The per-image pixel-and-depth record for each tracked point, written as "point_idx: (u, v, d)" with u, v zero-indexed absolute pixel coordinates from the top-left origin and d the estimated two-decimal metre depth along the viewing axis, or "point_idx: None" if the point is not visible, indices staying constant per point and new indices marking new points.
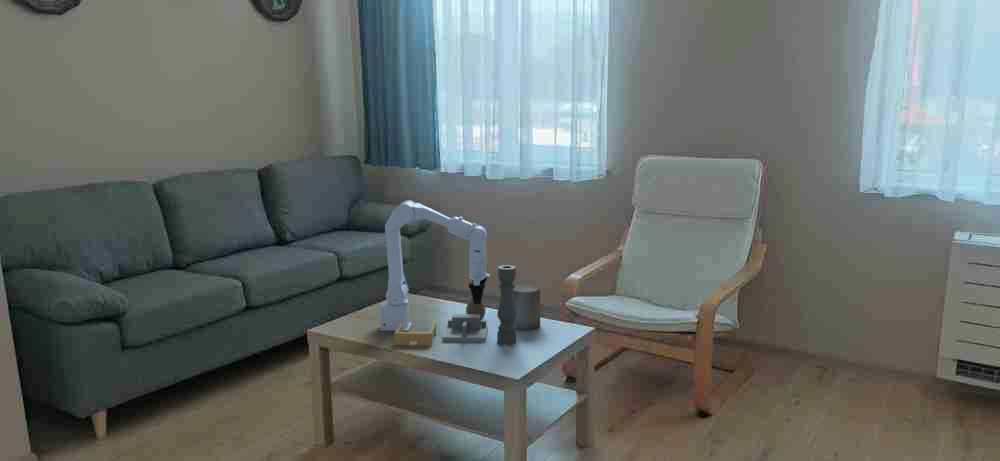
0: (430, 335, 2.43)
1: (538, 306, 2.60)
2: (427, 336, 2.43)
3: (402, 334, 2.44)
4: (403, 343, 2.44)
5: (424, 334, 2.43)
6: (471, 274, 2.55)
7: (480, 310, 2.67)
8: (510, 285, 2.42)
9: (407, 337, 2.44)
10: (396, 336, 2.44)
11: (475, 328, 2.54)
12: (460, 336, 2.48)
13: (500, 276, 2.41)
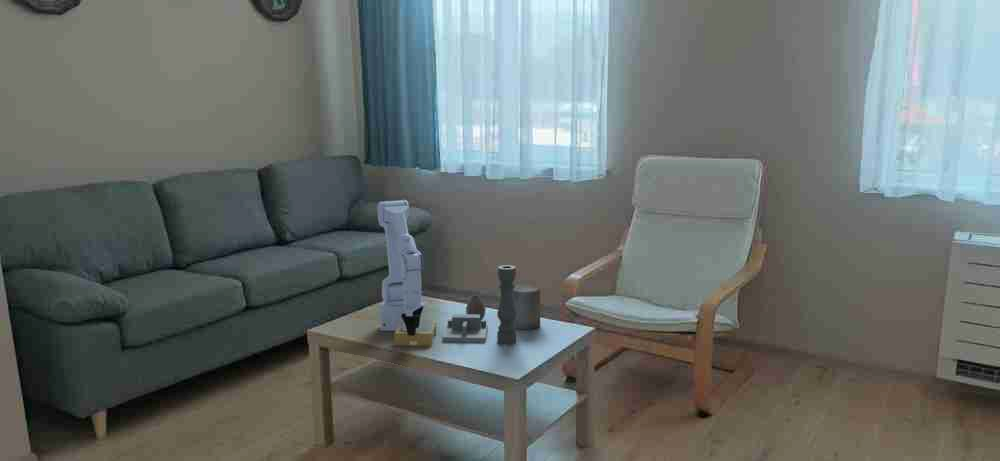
0: (430, 335, 2.43)
1: (538, 306, 2.60)
2: (427, 336, 2.43)
3: (402, 334, 2.44)
4: (403, 343, 2.44)
5: (424, 334, 2.43)
6: (405, 304, 2.40)
7: (480, 310, 2.67)
8: (510, 285, 2.42)
9: (407, 337, 2.44)
10: (396, 336, 2.44)
11: (475, 328, 2.54)
12: (460, 336, 2.48)
13: (500, 276, 2.41)
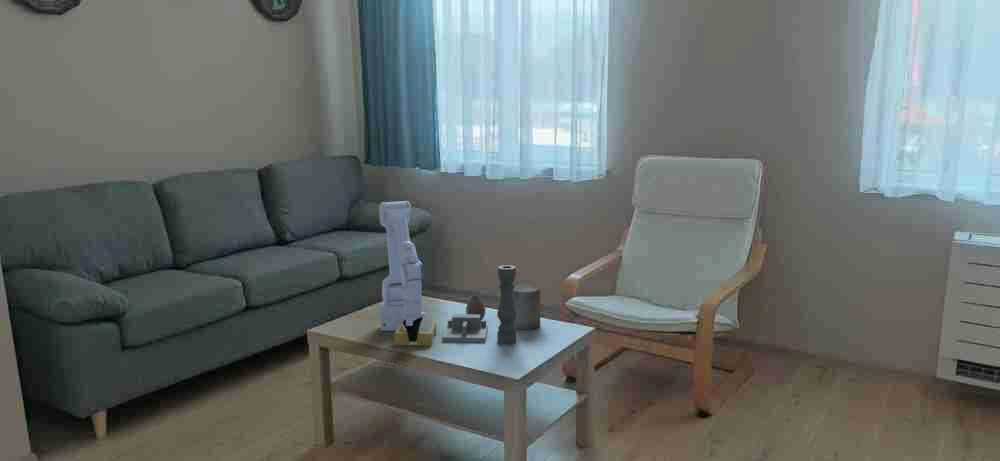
0: (430, 335, 2.43)
1: (538, 306, 2.60)
2: (427, 336, 2.43)
3: (402, 334, 2.44)
4: (403, 343, 2.44)
5: (424, 334, 2.43)
6: (405, 313, 2.41)
7: (480, 310, 2.67)
8: (510, 285, 2.42)
9: (407, 337, 2.44)
10: (396, 336, 2.44)
11: (475, 328, 2.54)
12: (460, 336, 2.48)
13: (500, 276, 2.41)
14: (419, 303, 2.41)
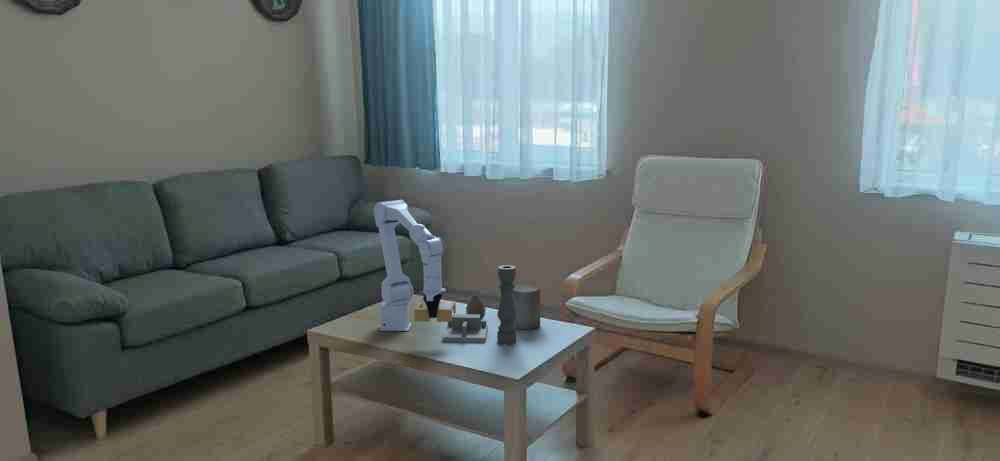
0: (450, 311, 2.43)
1: (538, 306, 2.60)
2: (447, 312, 2.43)
3: (422, 310, 2.44)
4: (423, 319, 2.44)
5: (444, 310, 2.43)
6: (425, 289, 2.41)
7: (480, 310, 2.67)
8: (510, 285, 2.42)
9: (427, 313, 2.44)
10: (416, 312, 2.44)
11: (475, 328, 2.54)
12: (460, 336, 2.48)
13: (500, 276, 2.41)
14: (439, 279, 2.41)
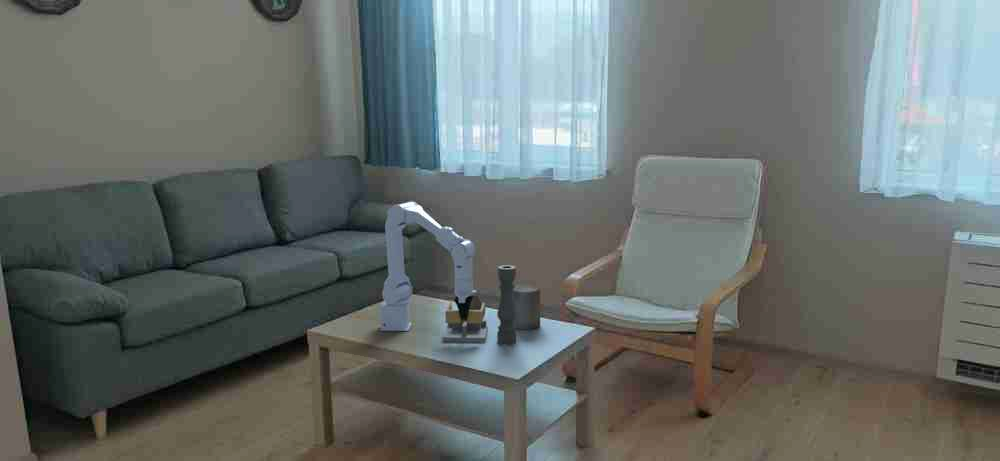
0: (481, 313, 2.46)
1: (538, 306, 2.60)
2: (478, 314, 2.46)
3: (453, 312, 2.47)
4: (454, 321, 2.47)
5: (475, 312, 2.46)
6: (456, 291, 2.44)
7: None
8: (510, 285, 2.42)
9: (458, 314, 2.47)
10: (447, 314, 2.47)
11: (475, 328, 2.54)
12: (460, 336, 2.48)
13: (500, 276, 2.41)
14: (470, 281, 2.44)
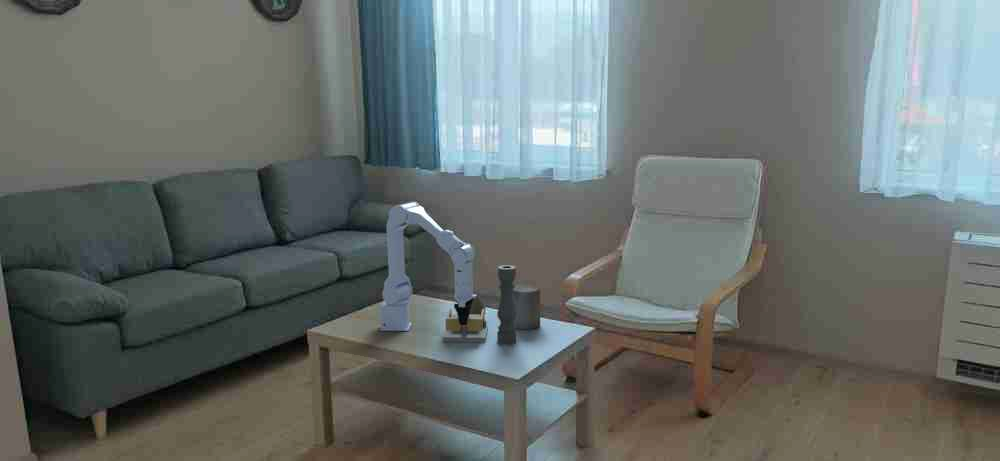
0: (481, 321, 2.47)
1: (538, 306, 2.60)
2: (478, 321, 2.47)
3: (453, 320, 2.47)
4: (454, 328, 2.48)
5: (475, 320, 2.47)
6: (456, 295, 2.44)
7: (480, 310, 2.67)
8: (510, 285, 2.42)
9: (458, 322, 2.47)
10: (447, 322, 2.47)
11: None
12: (460, 336, 2.48)
13: (500, 276, 2.41)
14: (470, 285, 2.44)
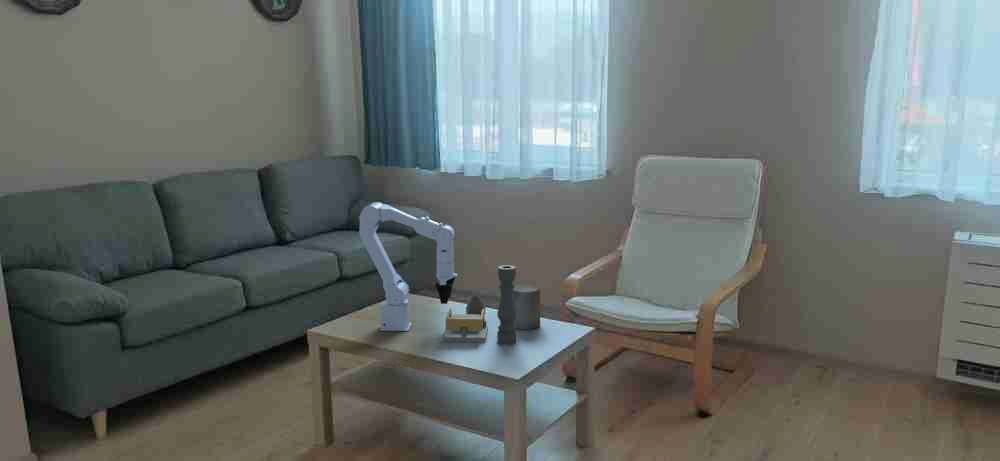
0: (481, 321, 2.47)
1: (538, 306, 2.60)
2: (478, 321, 2.47)
3: (453, 320, 2.47)
4: (454, 328, 2.48)
5: (475, 320, 2.47)
6: (438, 274, 2.55)
7: (480, 310, 2.67)
8: (510, 285, 2.42)
9: (458, 322, 2.47)
10: (447, 322, 2.47)
11: None
12: (460, 336, 2.48)
13: (500, 276, 2.41)
14: (452, 264, 2.54)
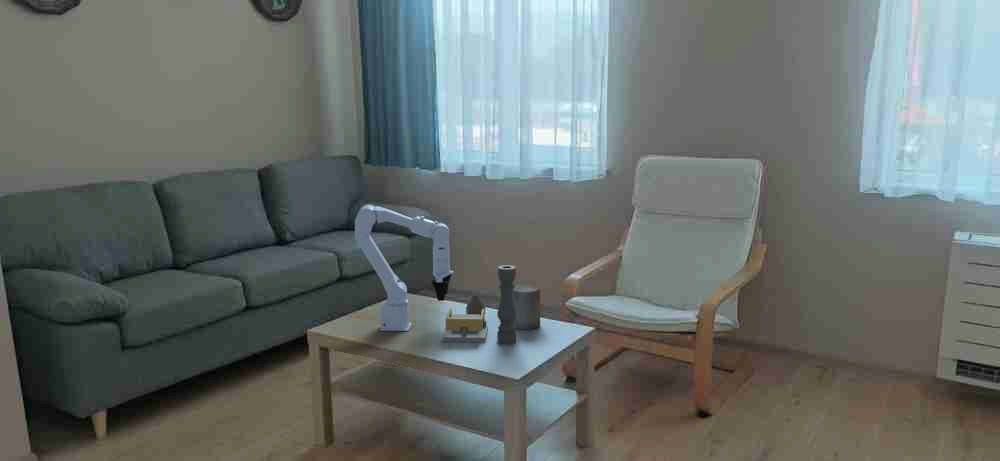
0: (481, 321, 2.47)
1: (538, 306, 2.60)
2: (478, 321, 2.47)
3: (453, 320, 2.47)
4: (454, 328, 2.48)
5: (475, 320, 2.47)
6: (434, 271, 2.58)
7: (480, 310, 2.67)
8: (510, 285, 2.42)
9: (458, 322, 2.47)
10: (447, 322, 2.47)
11: None
12: (460, 336, 2.48)
13: (500, 276, 2.41)
14: (448, 262, 2.57)
